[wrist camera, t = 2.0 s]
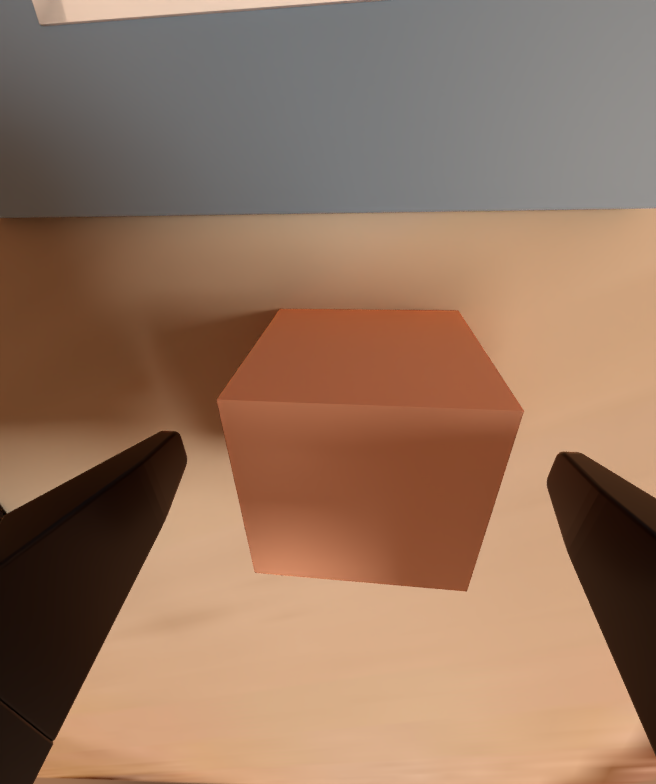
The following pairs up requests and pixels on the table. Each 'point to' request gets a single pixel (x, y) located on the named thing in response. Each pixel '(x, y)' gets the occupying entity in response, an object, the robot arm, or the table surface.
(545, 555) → the table surface
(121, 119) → the board
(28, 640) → the robot arm
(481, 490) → the terracotta cube
